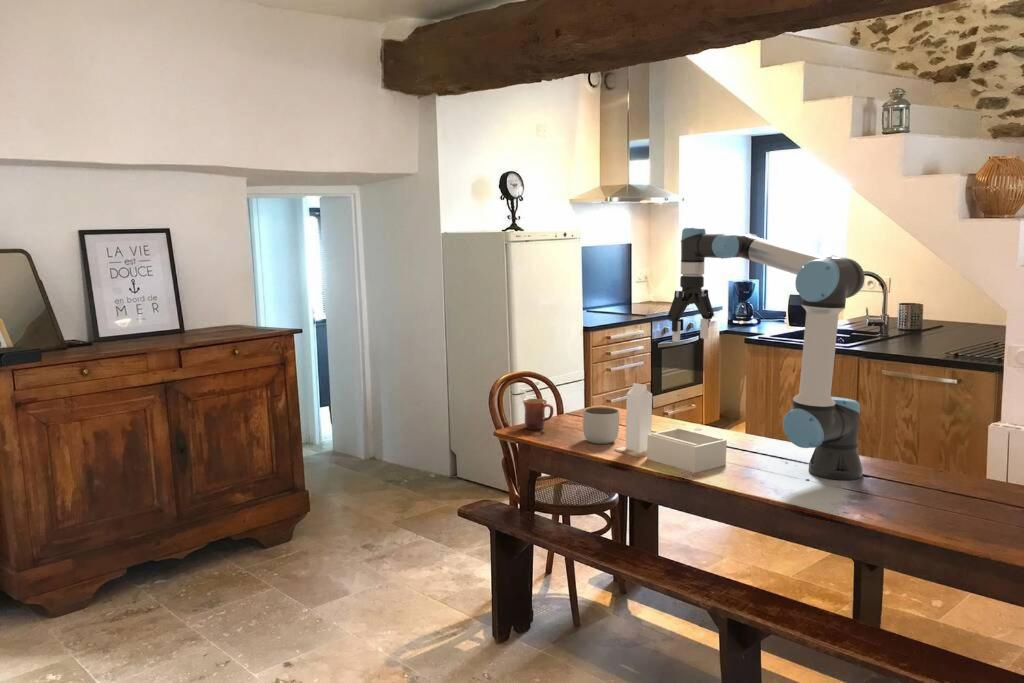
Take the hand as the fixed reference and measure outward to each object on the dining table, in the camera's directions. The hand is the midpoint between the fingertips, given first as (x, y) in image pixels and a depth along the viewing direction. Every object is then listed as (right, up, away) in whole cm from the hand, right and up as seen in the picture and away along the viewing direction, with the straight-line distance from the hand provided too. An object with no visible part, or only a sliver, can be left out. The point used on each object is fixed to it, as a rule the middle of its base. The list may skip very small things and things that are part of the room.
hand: (690, 339), depth 273 cm
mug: (-49, -33, +32) cm, 67 cm away
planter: (-28, -35, +14) cm, 47 cm away
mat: (-17, -37, +1) cm, 41 cm away
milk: (-17, -36, +1) cm, 40 cm away
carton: (-4, -39, -12) cm, 40 cm away
